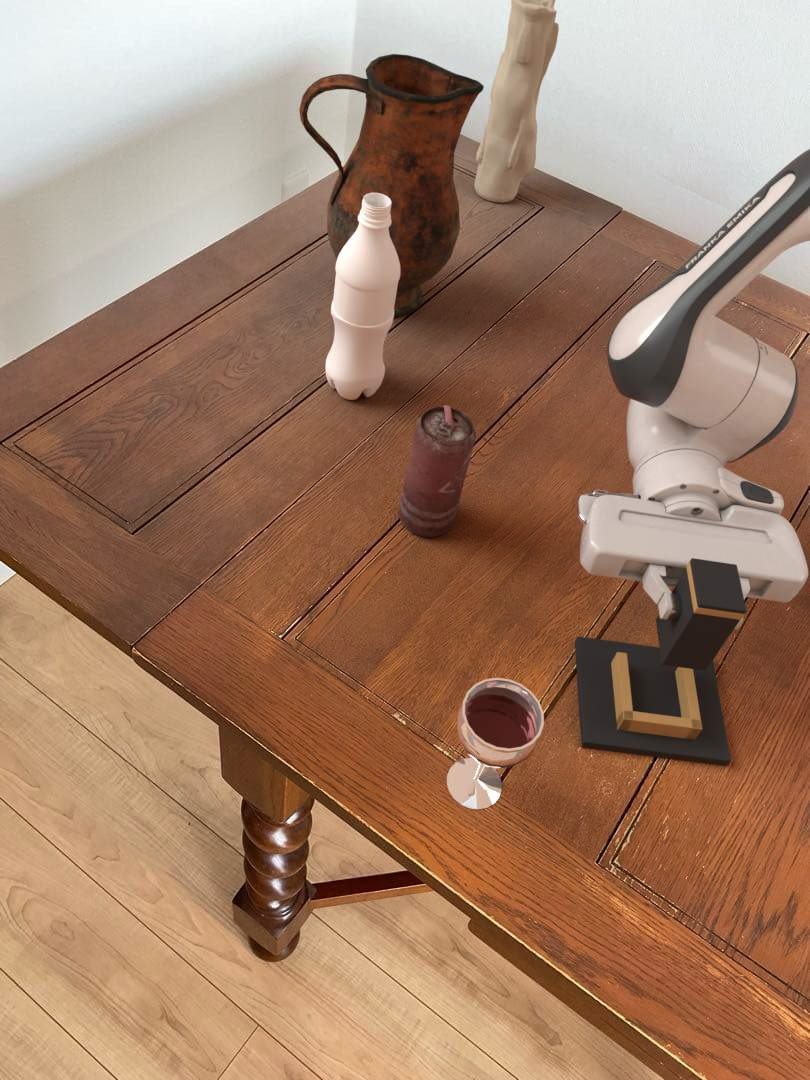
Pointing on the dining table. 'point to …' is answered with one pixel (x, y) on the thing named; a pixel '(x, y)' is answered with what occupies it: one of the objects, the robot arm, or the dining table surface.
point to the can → (436, 470)
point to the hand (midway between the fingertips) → (702, 620)
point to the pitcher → (402, 162)
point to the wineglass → (493, 738)
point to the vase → (516, 101)
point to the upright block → (702, 614)
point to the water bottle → (363, 302)
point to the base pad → (647, 704)
